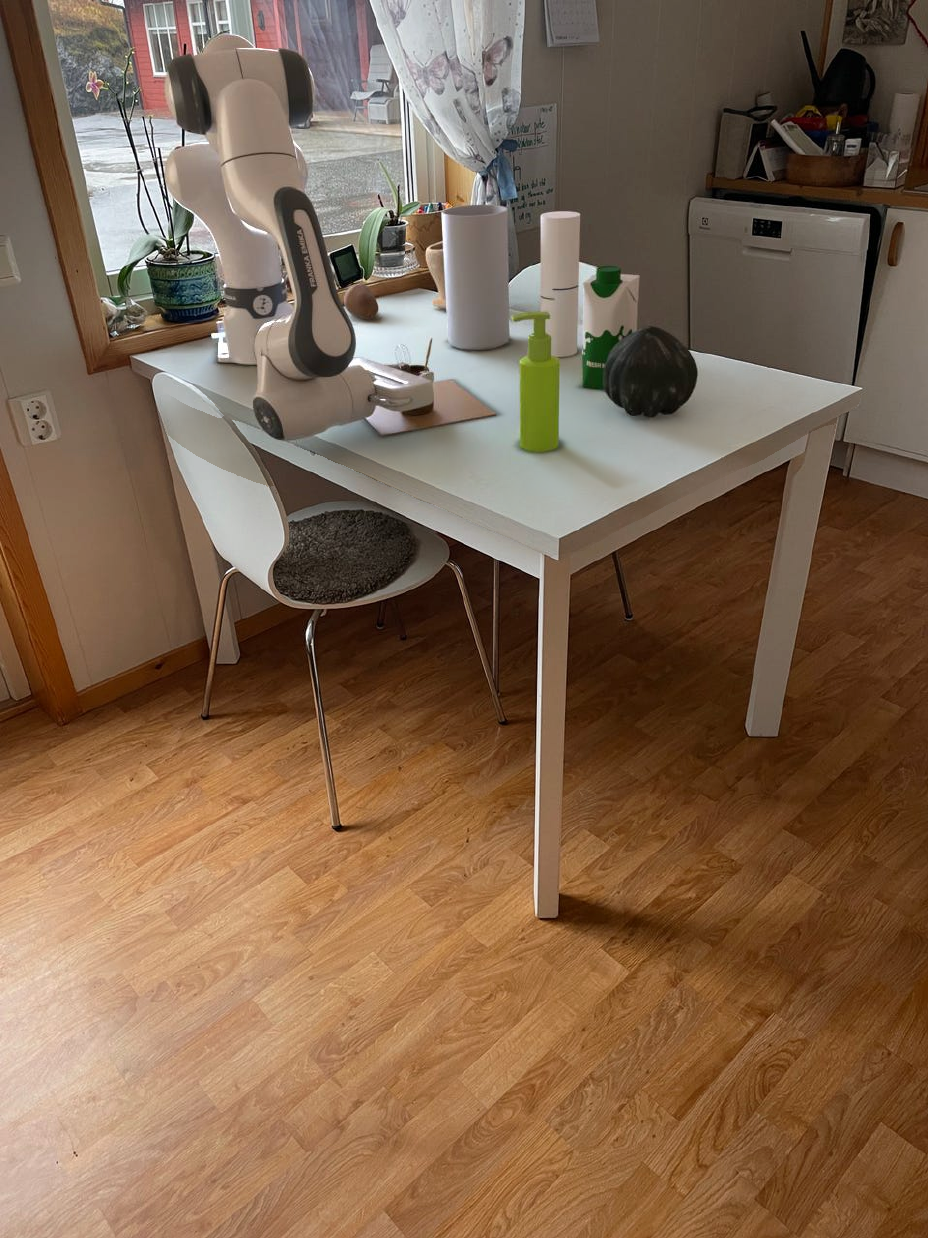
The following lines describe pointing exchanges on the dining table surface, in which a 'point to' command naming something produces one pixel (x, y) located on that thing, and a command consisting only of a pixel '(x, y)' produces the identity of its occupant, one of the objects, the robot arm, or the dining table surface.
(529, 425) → the soap dispenser
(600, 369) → the milk carton
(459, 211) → the cylinder vase
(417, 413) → the utensil holder
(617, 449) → the dining table surface
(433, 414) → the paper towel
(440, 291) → the stone cup
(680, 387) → the squash
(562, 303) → the cylindrical container
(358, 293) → the potato
